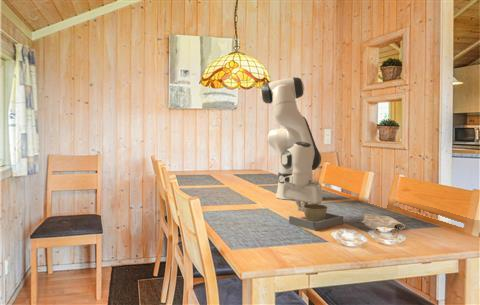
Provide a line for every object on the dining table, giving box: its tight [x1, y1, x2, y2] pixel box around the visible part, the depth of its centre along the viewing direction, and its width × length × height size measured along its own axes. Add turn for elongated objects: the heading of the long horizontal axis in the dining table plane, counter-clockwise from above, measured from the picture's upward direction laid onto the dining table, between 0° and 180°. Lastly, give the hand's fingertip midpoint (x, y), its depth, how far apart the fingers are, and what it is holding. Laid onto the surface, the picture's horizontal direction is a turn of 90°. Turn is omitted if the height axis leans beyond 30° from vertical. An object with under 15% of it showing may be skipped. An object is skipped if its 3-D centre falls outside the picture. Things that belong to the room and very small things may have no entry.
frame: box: [288, 212, 344, 231], centre depth 162 cm, size 18×14×3 cm
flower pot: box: [302, 203, 328, 222], centre depth 162 cm, size 10×10×7 cm
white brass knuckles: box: [360, 213, 406, 231], centre depth 158 cm, size 3×18×15 cm
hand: (301, 210), depth 168 cm, fingers closed
